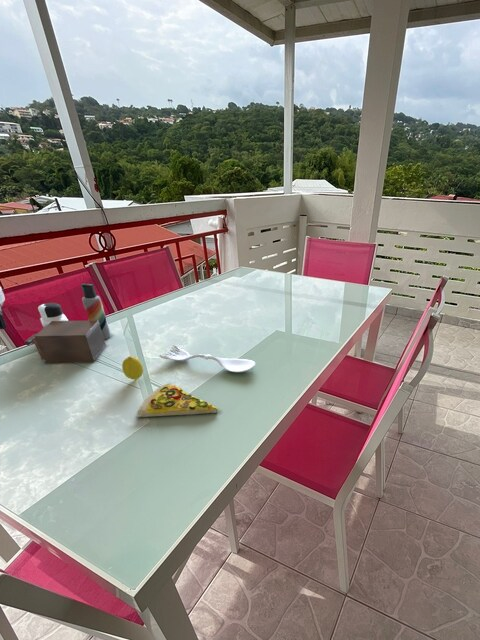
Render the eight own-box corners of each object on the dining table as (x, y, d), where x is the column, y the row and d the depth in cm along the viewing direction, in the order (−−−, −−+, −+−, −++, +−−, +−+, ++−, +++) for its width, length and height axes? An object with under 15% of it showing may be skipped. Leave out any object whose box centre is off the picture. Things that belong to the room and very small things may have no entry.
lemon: (149, 378, 103) (143, 355, 98) (133, 386, 99) (127, 362, 94) (137, 373, 105) (131, 350, 101) (122, 380, 101) (115, 357, 97)
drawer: (26, 360, 106) (16, 338, 102) (43, 345, 116) (34, 324, 111) (86, 359, 109) (79, 337, 105) (98, 344, 119) (91, 323, 114)
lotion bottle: (91, 338, 124) (73, 284, 113) (103, 333, 129) (86, 280, 117) (103, 341, 123) (86, 286, 111) (114, 335, 127) (99, 282, 116)
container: (71, 333, 127) (59, 299, 120) (75, 340, 122) (63, 305, 115) (47, 337, 123) (33, 303, 115) (50, 345, 118) (36, 309, 111)
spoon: (174, 352, 118) (172, 343, 116) (259, 365, 113) (258, 356, 111) (160, 363, 111) (158, 354, 109) (250, 378, 106) (249, 369, 104)
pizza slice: (164, 386, 100) (162, 378, 98) (229, 397, 97) (228, 389, 95) (132, 416, 87) (130, 407, 85) (205, 430, 84) (204, 421, 82)
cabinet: (45, 363, 107) (34, 336, 102) (62, 346, 117) (52, 321, 112) (94, 362, 110) (85, 335, 104) (106, 345, 120) (98, 320, 114)
